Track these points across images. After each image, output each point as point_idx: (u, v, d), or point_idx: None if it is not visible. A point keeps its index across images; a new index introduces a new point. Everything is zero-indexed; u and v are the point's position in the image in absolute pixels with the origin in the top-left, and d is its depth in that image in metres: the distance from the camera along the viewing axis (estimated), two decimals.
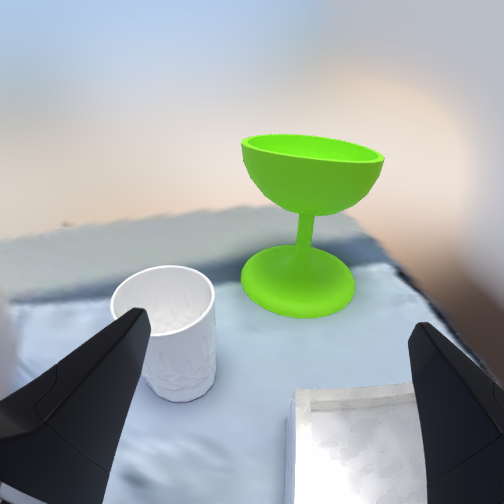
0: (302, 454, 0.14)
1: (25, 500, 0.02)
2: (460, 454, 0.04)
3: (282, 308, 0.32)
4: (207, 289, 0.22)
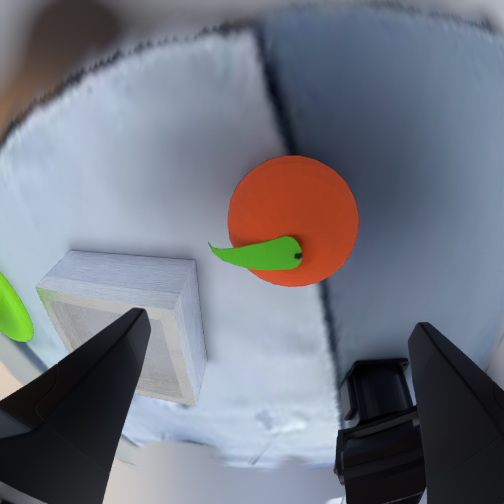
0: None
1: (25, 500, 0.02)
2: (460, 455, 0.04)
3: (27, 325, 0.28)
4: None
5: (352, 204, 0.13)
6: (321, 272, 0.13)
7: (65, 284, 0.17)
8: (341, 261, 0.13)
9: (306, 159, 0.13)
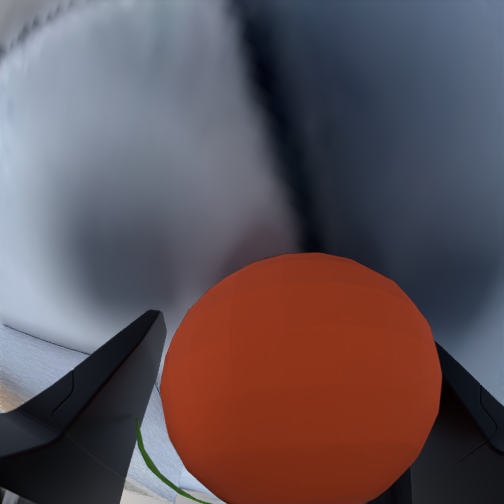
0: None
1: None
2: (445, 460, 0.04)
3: None
4: None
5: (439, 391, 0.04)
6: None
7: None
8: None
9: (353, 293, 0.04)
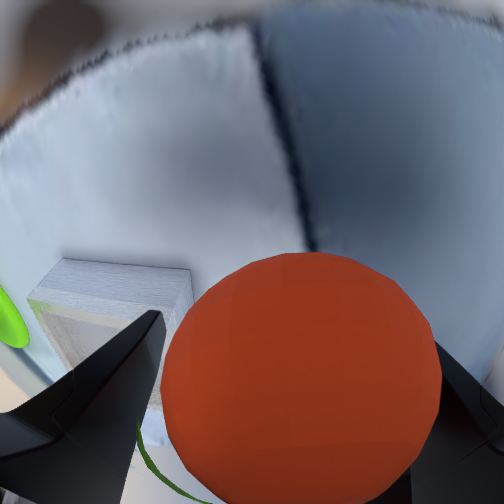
0: None
1: None
2: (445, 460, 0.04)
3: (23, 332, 0.27)
4: None
5: (439, 391, 0.04)
6: None
7: (56, 296, 0.16)
8: None
9: (352, 292, 0.04)
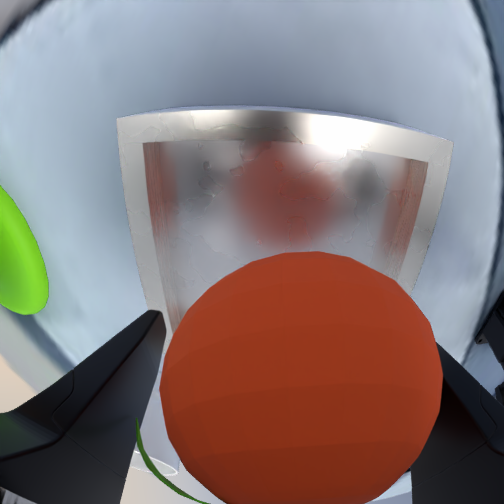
0: None
1: None
2: (445, 460, 0.04)
3: (40, 283, 0.19)
4: None
5: (441, 390, 0.04)
6: None
7: (200, 109, 0.09)
8: None
9: (353, 291, 0.04)
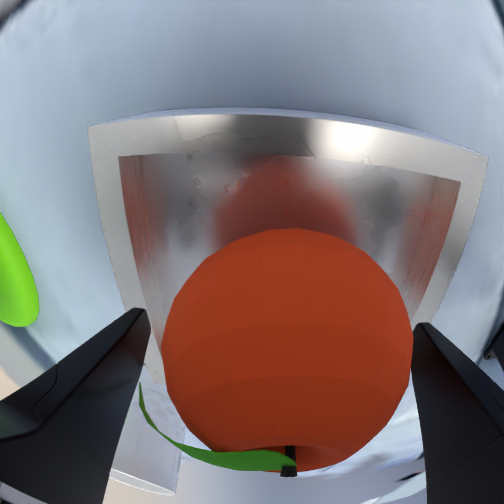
0: None
1: (25, 500, 0.02)
2: (460, 454, 0.04)
3: (30, 297, 0.18)
4: None
5: (410, 349, 0.05)
6: None
7: (187, 113, 0.07)
8: None
9: (321, 253, 0.06)
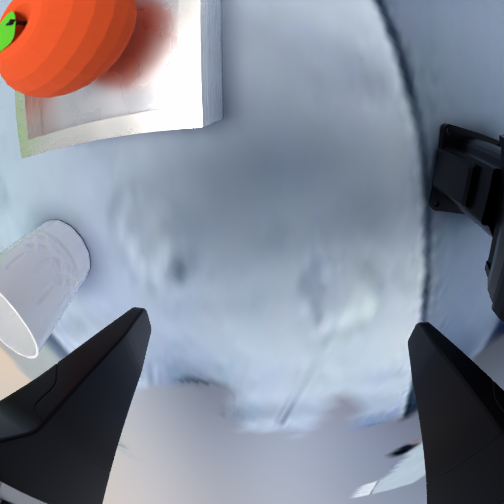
0: (77, 136, 0.12)
1: (25, 500, 0.02)
2: (460, 454, 0.04)
3: None
4: None
5: None
6: (37, 33, 0.05)
7: None
8: (68, 17, 0.05)
9: None
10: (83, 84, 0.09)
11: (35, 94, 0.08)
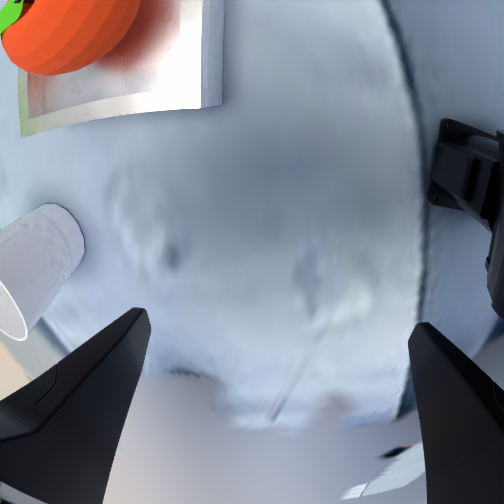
0: (77, 116, 0.11)
1: (25, 500, 0.02)
2: (460, 454, 0.04)
3: None
4: None
5: None
6: (43, 10, 0.05)
7: None
8: None
9: None
10: (85, 63, 0.08)
11: (37, 71, 0.07)
